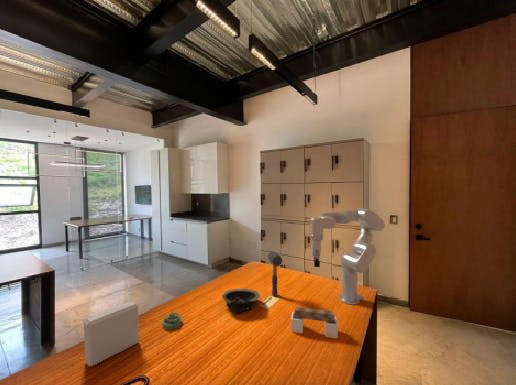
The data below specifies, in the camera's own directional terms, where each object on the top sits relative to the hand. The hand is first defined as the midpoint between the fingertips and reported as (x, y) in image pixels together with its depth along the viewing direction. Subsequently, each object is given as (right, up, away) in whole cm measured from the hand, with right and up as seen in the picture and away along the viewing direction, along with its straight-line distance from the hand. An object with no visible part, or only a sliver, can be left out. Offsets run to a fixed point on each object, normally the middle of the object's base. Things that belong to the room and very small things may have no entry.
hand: (316, 264), depth 146 cm
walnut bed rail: (-7, -25, -21) cm, 34 cm away
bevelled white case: (-105, -30, -37) cm, 115 cm away
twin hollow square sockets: (-7, -29, -21) cm, 37 cm away
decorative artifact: (-85, -29, -15) cm, 91 cm away
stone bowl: (-48, -28, +5) cm, 55 cm away
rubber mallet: (-25, -28, +18) cm, 41 cm away
